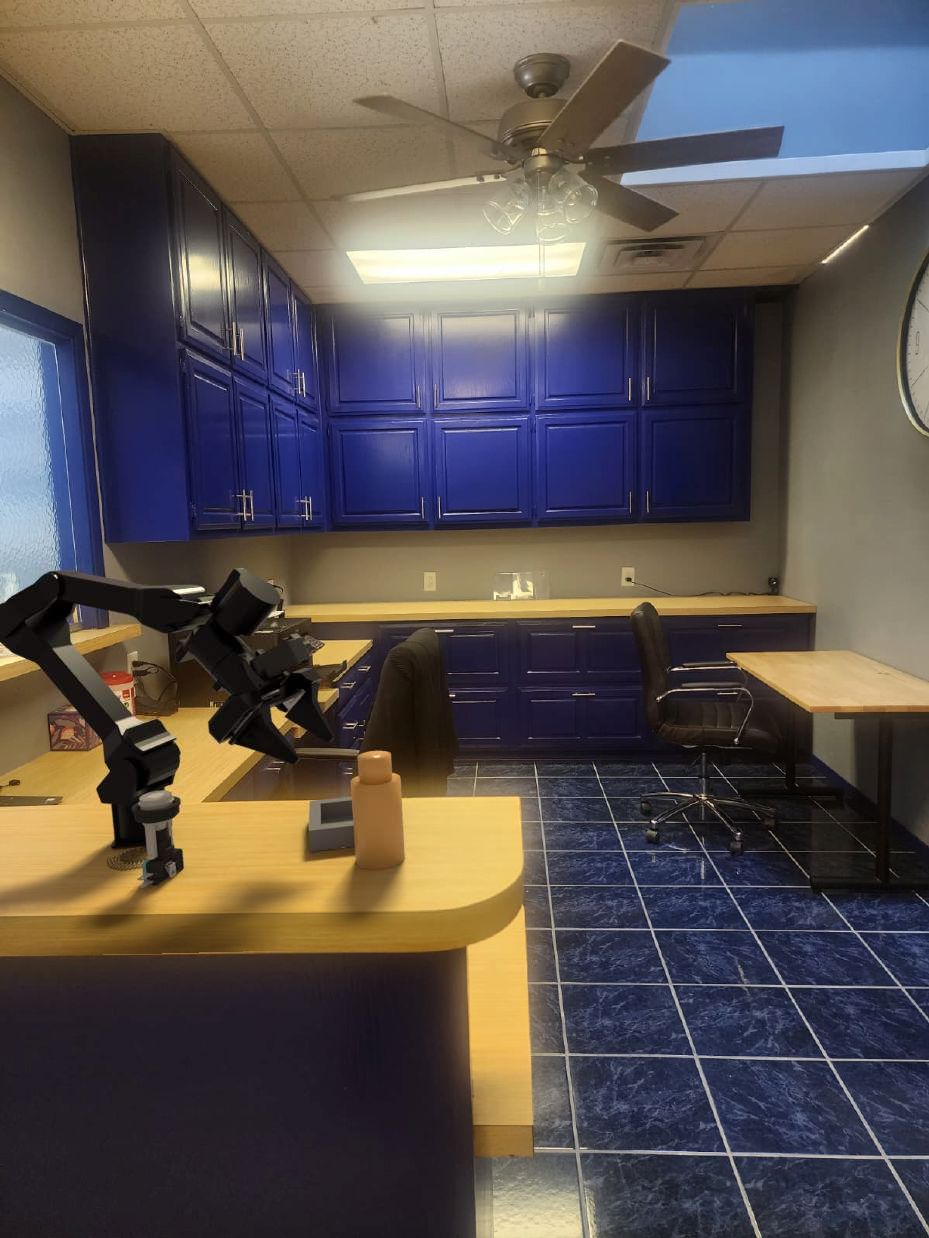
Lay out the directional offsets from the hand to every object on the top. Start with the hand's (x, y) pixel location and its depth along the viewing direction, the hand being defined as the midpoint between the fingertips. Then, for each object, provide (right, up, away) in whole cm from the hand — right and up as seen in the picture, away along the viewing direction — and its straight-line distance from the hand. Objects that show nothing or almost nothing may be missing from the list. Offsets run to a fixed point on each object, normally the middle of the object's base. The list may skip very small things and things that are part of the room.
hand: (315, 750), depth 90 cm
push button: (-18, -15, -4) cm, 23 cm away
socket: (+3, -12, +9) cm, 15 cm away
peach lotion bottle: (+8, -13, -1) cm, 15 cm away
